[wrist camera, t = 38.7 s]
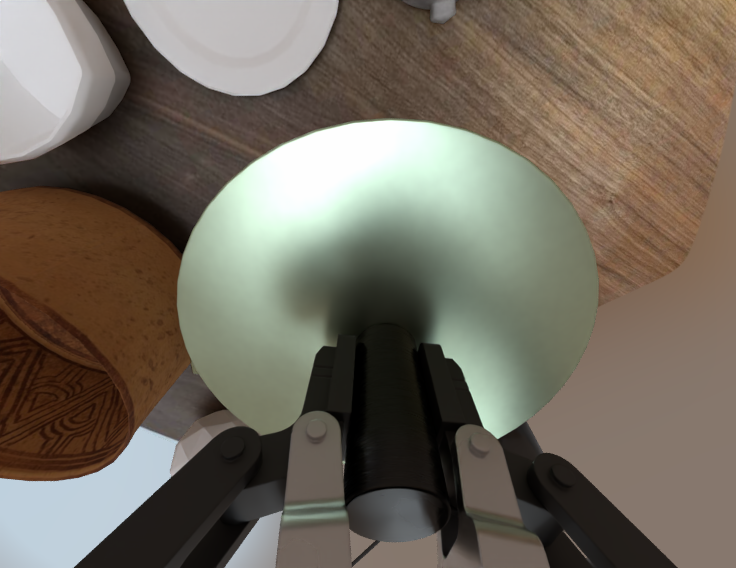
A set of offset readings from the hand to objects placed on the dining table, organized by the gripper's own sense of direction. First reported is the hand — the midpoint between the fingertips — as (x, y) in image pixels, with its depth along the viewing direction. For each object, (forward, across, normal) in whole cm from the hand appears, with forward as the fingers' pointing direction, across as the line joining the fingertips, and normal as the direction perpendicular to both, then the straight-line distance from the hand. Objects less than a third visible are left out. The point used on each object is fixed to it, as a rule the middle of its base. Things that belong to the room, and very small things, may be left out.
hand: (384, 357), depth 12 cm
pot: (+29, +34, +15) cm, 47 cm away
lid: (+1, 0, 0) cm, 1 cm away
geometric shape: (+29, +21, +44) cm, 57 cm away
